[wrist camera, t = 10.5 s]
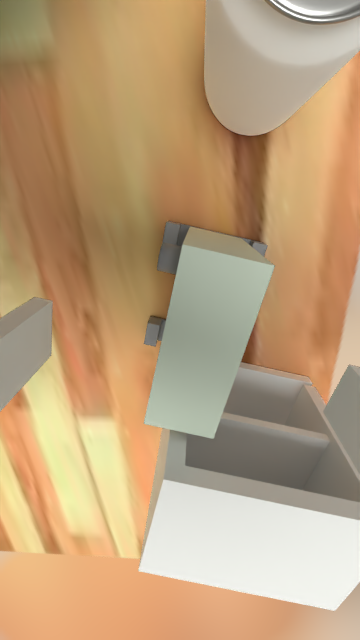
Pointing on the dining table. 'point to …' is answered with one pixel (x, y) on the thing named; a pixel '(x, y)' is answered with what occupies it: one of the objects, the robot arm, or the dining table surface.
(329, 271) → the dining table surface
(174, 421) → the door
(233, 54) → the can
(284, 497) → the cabinet
